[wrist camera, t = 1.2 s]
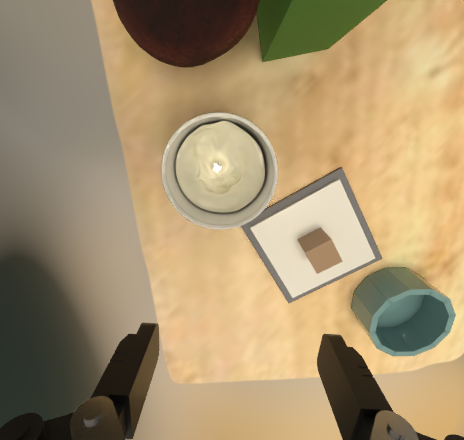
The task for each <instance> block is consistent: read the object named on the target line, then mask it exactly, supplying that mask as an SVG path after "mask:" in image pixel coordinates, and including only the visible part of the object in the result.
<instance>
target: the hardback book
mask: <svg viewBox="0 0 464 440" xmlns="http://www.w3.org/2000/svg"><path fill="white" fill-rule="evenodd" d="M386 1H387V0H260V2H259V6H258V9H257V20H258V28H259V36H260V45H261V53H262V61H263V62H266V61H271V60H276V59H281V58H286V57H291V56H295V55H300V54H305V53H310V52H315V51H320V50H325V49H329V48H330V47H331V46H332V45H333V44H335V43H336V42H337V41H338V40H340V39H341V38H342V37H343V36H344V35H346V34H347V33H348V32H349V31H350V30H352V29H353V28H354V27H355V26H357V25H358V24H359V23H360V22H361V21H363V20H364V19H365V18H366V17H367V16H369V15H370V14H371V13H372V12H374V11H375V10H376V9H377V8H378V7H380V6H381V5H382V4H383V3H384V2H386Z"/></svg>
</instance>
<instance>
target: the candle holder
mask: <svg viewBox="0 0 464 440" xmlns="http://www.w3.org/2000/svg"><path fill="white" fill-rule="evenodd" d="M161 176H162V182H163V186H164V190H165V192H166V195H167V197H168V199H169V200H170V202H171V203H172V205H173V206H174V207H175V209H176V210H177V211H178V212H179V213H180V214H181V215H182V216H184V217H185V218H186V219H188V220H189V221H191V222H193V223H195V224H197V225H199V226H202V227H205V228H209V229H218V230H223V229H231V228H236V227H239V226H242V225H244V224H246V223H248V222H250V221H252V220H253V219H254V218H256V217H257V216H258V215H259V214H260V213H261V212H262V211H263V210H264V209H265V208H266V207H267V205H268V204H269V202H270V200H271V199H272V197H273V194H274V192H275V189H276V185H277V180H278V164H277V158H276V154H275V151H274V149H273V147H272V145H271V143H270V141H269V139H268V138H267V136H266V135H265V134H264V133H263V132H262V131H261V129H259V128H258V127H257V126H256V125H255V124H253V123H252V122H251V121H249V120H247V119H245V118H243V117H241V116H238V115H235V114H231V113H225V112H213V113H206V114H202V115H199V116H197V117H195V118H192V119H191V120H189V121H187V122H186V123H184V124H183V125H182V126H181V127H180V128H179V129H178V130H177V131H176V132H175V133H174V134H173V135H172V137H171V138H170V140H169V142H168V144H167V146H166V148H165V151H164V154H163V158H162V164H161Z"/></svg>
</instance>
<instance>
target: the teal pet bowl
mask: <svg viewBox="0 0 464 440" xmlns="http://www.w3.org/2000/svg"><path fill="white" fill-rule="evenodd" d="M351 308H352V310H353V312H354V314H355V315H356V317H357V319H358V321H359V323H360V324H361V326H362V327H363V329H364V330H365V332H366V333H367V335H368V336H369V338H370V339H371V341H372V342H373V344H374V345H375V347H376V348H377V349H379V350H381V351H383V352H385V353H387V354H389V355H391V356H415V355H417V354H420V353H422V352H425V351H427V350H430V349H432V348H434V347H435V346H436V345H437V344H439V343H440V342H441V341H442V340H443V339H444V338H445V337H446V336H447V335H448V334H449V333H450V330H451V327H452V324H453V321H454V318H455V312H454V309H453V306H452V304H451V301H450V299H449V298H448V297H447V296H445V295H444V294H443V293H441V292H440V291H439V290H438V289H436V288H435V287H434V286H432V285H431V284H430V283H428V282H427V281H426V280H425V279H423V278H422V277H421V276H419V275H417V274H416V273H414V272H412V271H410V270H409V269H407V268H384V269H382V270H380V271H378V272H375V273H373V274H371V275H369V276H367V277H366V278H365V279H364V280H363V281H362V283H361V284H360V285H359V286H358V287H357V289H356V290H355V291H354V295H353V301H352V307H351Z"/></svg>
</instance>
